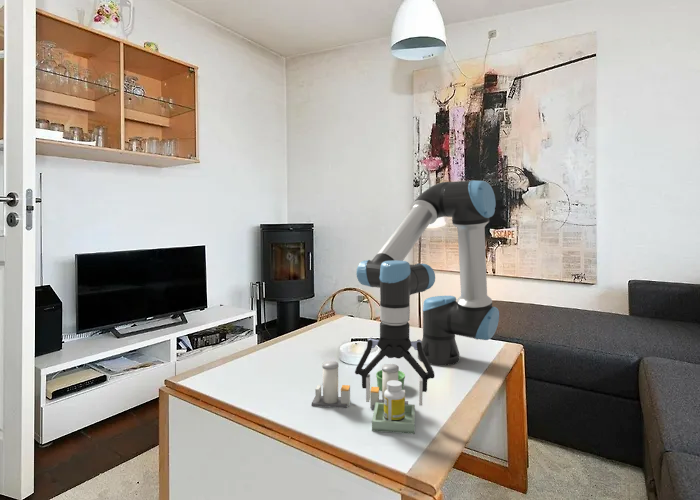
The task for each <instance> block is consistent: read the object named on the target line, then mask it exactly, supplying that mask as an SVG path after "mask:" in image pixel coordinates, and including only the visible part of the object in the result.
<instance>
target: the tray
mask: <svg viewBox="0 0 700 500" xmlns="http://www.w3.org/2000/svg"><path fill="white" fill-rule="evenodd" d="M415 407H416V405H415V404H410V403H408V404H405V419H404V421H403V422H397V421H385V420H384V403H380V402H376V403H375V408H374V410H373V413H372V417H371V418H372V420H371V432H383V433H396V434H407V435H408V434H409V435H410V434H411V435H415V433H416V432H415V429H416V427H415V426H416V421H415V419H416V413H415V412H416V408H415Z"/></svg>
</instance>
